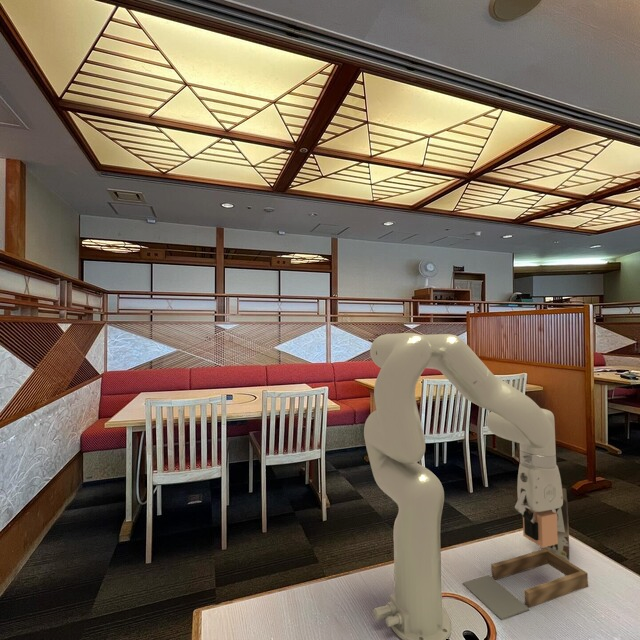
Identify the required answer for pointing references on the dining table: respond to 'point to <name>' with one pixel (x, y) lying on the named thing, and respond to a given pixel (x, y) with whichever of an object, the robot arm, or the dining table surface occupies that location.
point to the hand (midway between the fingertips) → (540, 534)
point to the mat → (495, 597)
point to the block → (545, 529)
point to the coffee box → (562, 531)
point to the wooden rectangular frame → (550, 589)
